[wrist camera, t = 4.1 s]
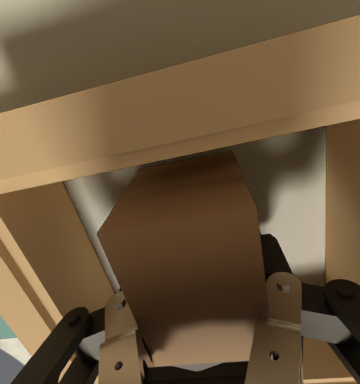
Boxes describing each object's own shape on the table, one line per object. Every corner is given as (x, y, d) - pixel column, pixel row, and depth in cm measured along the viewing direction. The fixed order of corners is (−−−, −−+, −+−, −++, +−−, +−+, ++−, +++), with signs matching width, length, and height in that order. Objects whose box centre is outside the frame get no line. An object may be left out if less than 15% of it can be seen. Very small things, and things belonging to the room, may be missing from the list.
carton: (-15, 123, 13) (-128, 148, 8) (398, 11, 10) (568, -43, 5) (108, 345, 20) (82, 421, 16) (365, 324, 17) (424, 412, 12)
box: (138, 169, 13) (96, 234, 8) (232, 150, 12) (256, 207, 7) (181, 300, 17) (172, 403, 12) (253, 292, 16) (280, 399, 11)
